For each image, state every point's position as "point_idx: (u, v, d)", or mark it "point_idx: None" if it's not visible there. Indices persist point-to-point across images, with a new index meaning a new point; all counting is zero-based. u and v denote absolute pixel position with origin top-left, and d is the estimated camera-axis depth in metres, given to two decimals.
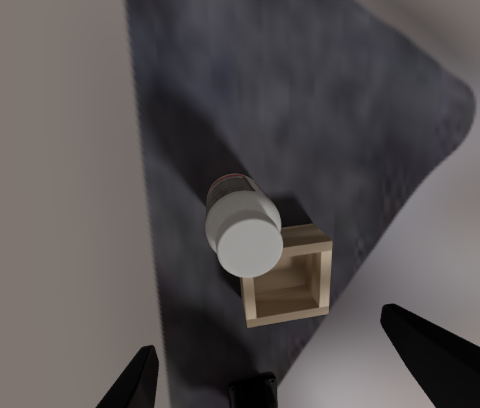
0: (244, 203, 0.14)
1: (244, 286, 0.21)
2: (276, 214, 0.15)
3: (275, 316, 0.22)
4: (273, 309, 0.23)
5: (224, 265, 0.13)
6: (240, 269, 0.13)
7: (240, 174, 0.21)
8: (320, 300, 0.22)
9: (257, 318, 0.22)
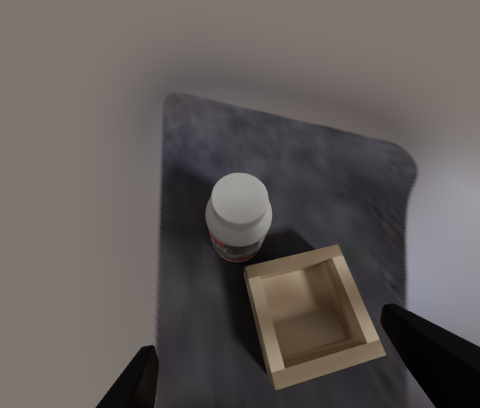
0: None
1: (257, 310, 0.17)
2: None
3: (311, 364, 0.16)
4: (307, 358, 0.17)
5: (218, 211, 0.15)
6: (233, 214, 0.15)
7: None
8: (362, 329, 0.17)
9: (286, 368, 0.16)
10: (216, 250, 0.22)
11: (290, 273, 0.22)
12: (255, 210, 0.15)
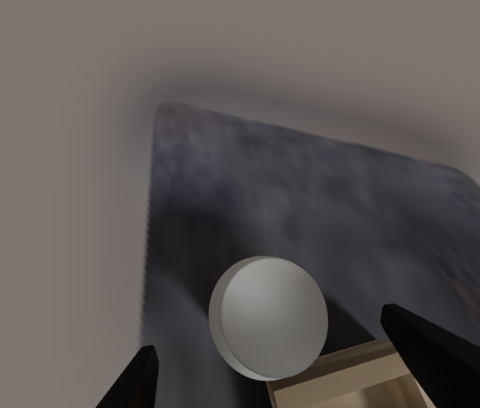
0: None
1: None
2: None
3: None
4: None
5: (234, 348, 0.08)
6: (265, 356, 0.07)
7: None
8: None
9: None
10: None
11: None
12: (306, 345, 0.08)
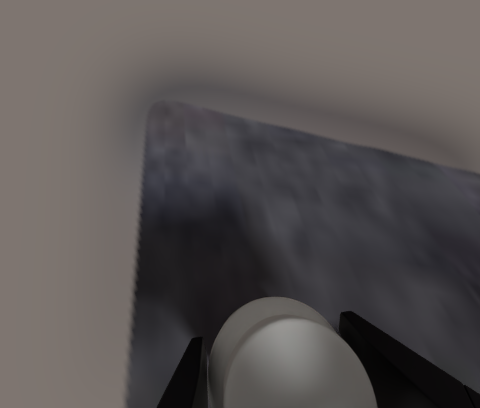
0: (269, 312, 0.08)
1: None
2: (331, 330, 0.08)
3: None
4: None
5: None
6: None
7: None
8: None
9: None
10: None
11: None
12: None
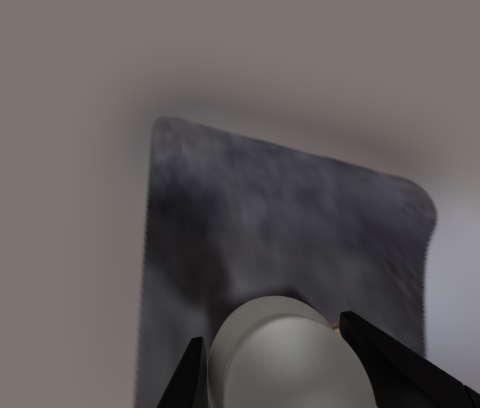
0: (268, 311, 0.08)
1: None
2: None
3: None
4: None
5: None
6: None
7: None
8: None
9: None
10: None
11: None
12: None
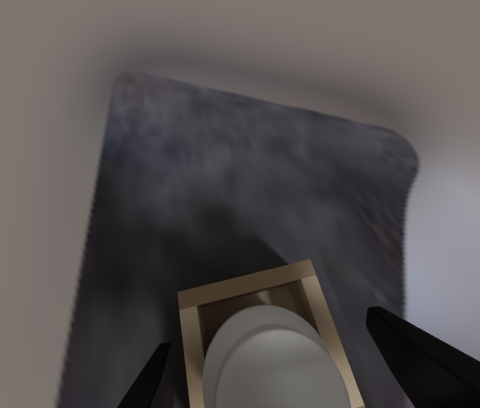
0: (259, 320, 0.09)
1: (187, 359, 0.12)
2: (316, 337, 0.09)
3: None
4: None
5: None
6: None
7: None
8: None
9: None
10: None
11: (250, 296, 0.17)
12: None
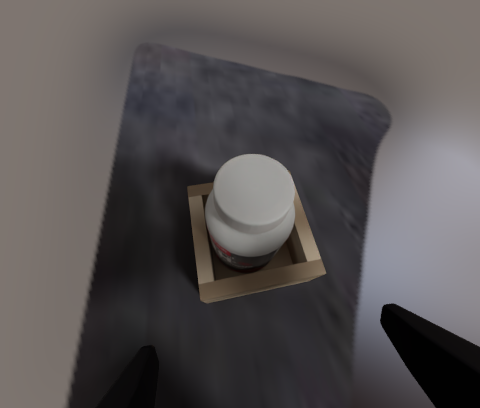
0: None
1: (193, 226, 0.16)
2: None
3: (243, 278, 0.15)
4: None
5: (223, 205, 0.10)
6: (245, 211, 0.10)
7: None
8: (304, 249, 0.16)
9: (216, 281, 0.15)
10: (218, 258, 0.17)
11: None
12: (276, 206, 0.10)
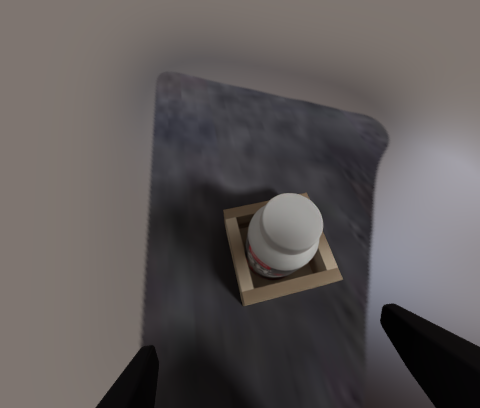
0: None
1: (232, 244, 0.20)
2: None
3: (276, 285, 0.18)
4: None
5: (271, 236, 0.14)
6: (288, 240, 0.14)
7: None
8: (324, 260, 0.19)
9: (255, 289, 0.18)
10: (251, 268, 0.21)
11: None
12: (311, 235, 0.14)
